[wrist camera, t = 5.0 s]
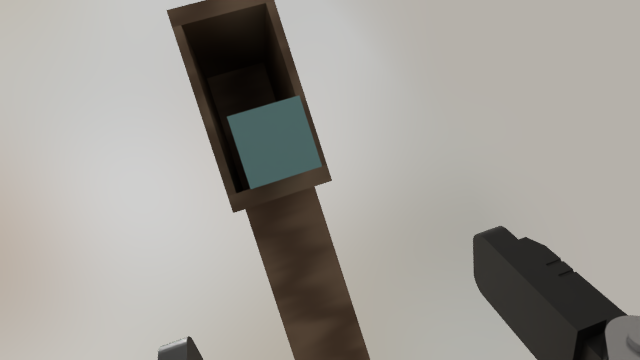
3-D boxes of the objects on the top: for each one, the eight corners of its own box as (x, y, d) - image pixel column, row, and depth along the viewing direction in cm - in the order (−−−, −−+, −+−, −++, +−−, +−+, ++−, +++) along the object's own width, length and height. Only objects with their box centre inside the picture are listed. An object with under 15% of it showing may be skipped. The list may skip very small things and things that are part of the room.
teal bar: (250, 189, 17) (226, 116, 17) (254, 187, 37) (243, 153, 37) (322, 166, 18) (299, 95, 18) (288, 176, 38) (277, 142, 38)
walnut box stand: (391, 693, 26) (166, 10, 25) (345, 517, 40) (199, 72, 39) (481, 648, 27) (268, -17, 26) (405, 490, 41) (265, 54, 39)
